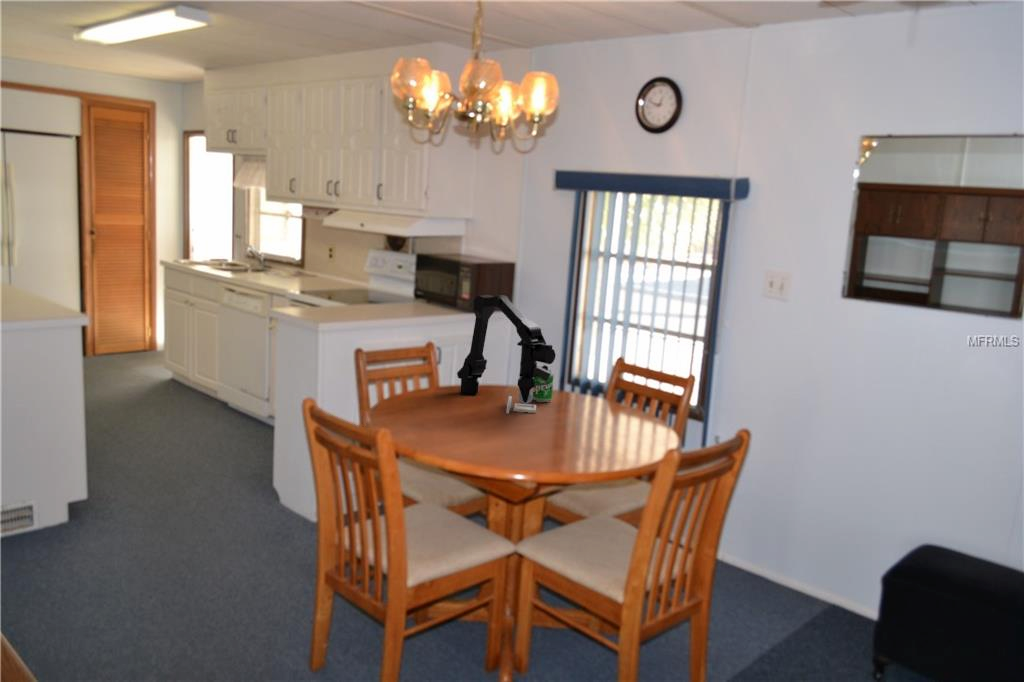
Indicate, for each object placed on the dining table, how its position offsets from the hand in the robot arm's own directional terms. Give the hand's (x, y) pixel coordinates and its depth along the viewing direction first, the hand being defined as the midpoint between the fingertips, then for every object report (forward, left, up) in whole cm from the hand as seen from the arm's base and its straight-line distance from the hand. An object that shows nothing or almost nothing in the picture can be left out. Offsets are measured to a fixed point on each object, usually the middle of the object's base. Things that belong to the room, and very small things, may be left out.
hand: (525, 400), depth 296 cm
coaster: (0, 0, -4) cm, 4 cm away
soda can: (+6, +16, -4) cm, 18 cm away
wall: (-6, 0, -4) cm, 7 cm away
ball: (0, 0, -1) cm, 1 cm away
